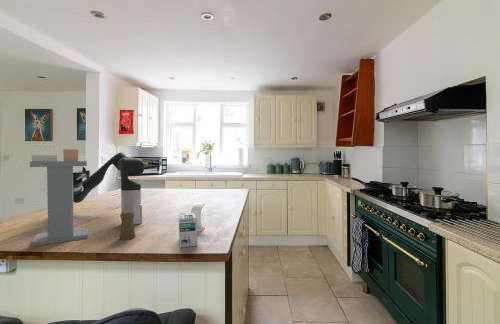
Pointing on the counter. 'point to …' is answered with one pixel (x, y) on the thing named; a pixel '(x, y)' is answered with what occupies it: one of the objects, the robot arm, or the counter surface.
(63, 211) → the stand
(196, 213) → the headphone stand
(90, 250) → the counter surface
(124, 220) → the cork
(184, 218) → the light bulb box
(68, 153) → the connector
